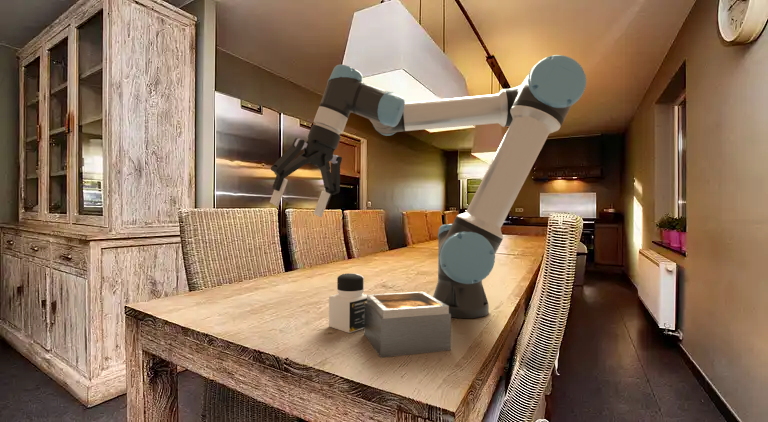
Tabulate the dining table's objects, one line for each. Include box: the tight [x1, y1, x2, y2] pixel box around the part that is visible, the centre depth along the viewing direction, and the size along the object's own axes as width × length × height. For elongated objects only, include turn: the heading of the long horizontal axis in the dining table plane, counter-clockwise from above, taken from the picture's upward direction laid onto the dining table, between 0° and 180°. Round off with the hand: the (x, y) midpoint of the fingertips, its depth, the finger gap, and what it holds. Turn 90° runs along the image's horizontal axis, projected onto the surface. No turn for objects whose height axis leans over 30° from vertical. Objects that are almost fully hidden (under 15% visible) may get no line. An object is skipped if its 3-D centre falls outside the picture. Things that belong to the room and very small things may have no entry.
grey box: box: [364, 291, 452, 358], centre depth 74 cm, size 14×13×8 cm
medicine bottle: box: [328, 272, 368, 334], centre depth 84 cm, size 7×7×12 cm
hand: (296, 210), depth 90 cm, fingers open, 13 cm apart
